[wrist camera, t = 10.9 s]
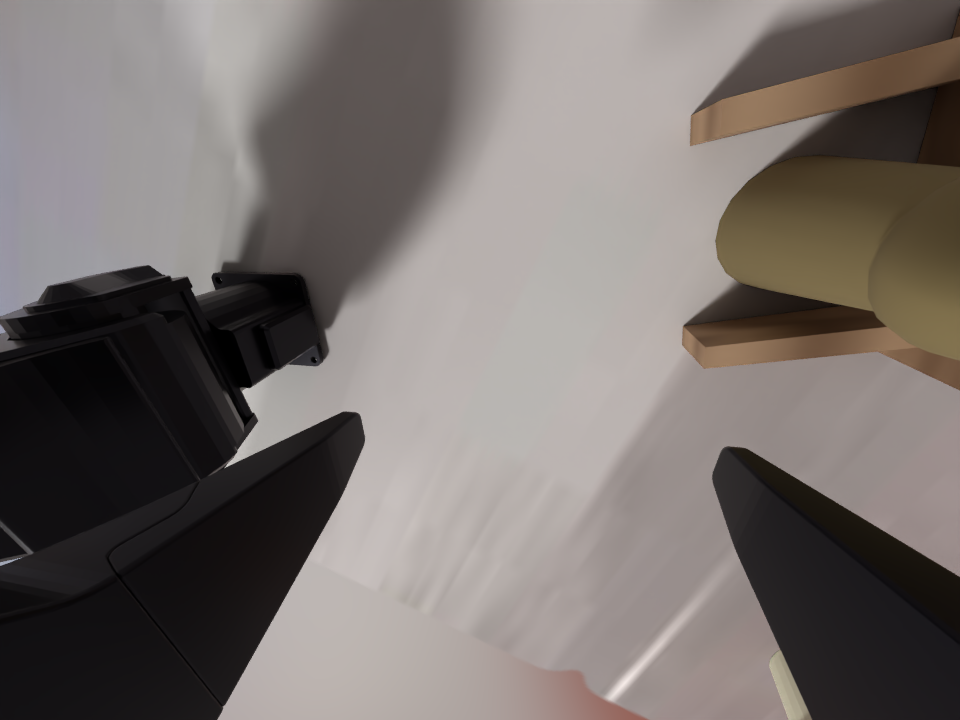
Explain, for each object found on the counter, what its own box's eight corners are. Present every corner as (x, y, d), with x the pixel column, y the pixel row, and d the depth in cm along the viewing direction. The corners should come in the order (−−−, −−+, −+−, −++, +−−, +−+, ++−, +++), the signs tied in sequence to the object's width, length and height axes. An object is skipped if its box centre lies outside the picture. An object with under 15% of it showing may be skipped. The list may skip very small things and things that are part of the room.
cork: (851, 123, 14) (1482, -13, 5) (872, 250, 16) (1356, 338, 7) (699, 203, 17) (920, 221, 7) (733, 307, 18) (945, 436, 9)
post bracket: (681, 364, 20) (770, 475, 12) (692, 80, 15) (870, -53, 7) (912, 340, 18) (1213, 461, 10) (1034, -16, 12) (1979, -416, 4)
